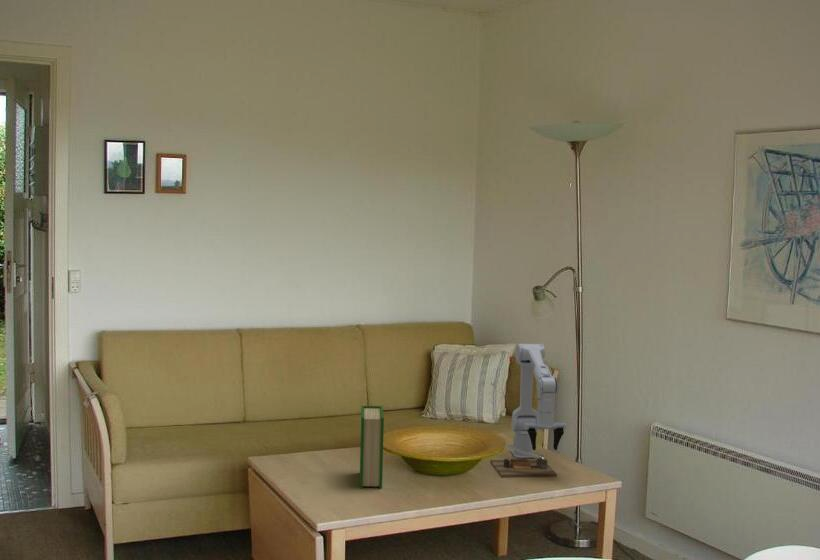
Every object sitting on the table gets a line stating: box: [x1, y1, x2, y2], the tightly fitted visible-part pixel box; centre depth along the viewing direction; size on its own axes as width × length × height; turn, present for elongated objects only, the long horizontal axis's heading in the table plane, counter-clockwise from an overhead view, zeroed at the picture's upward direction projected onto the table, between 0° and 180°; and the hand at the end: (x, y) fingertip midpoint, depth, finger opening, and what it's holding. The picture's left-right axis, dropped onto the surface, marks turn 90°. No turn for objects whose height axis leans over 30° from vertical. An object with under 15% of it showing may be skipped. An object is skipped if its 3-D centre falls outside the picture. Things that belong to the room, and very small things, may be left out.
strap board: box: [489, 454, 557, 478], centre depth 324 cm, size 18×20×4 cm
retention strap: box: [505, 443, 545, 460], centre depth 324 cm, size 4×15×1 cm, turn 97°
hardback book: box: [359, 405, 385, 490], centre depth 306 cm, size 18×7×24 cm, turn 3°
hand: (544, 449), depth 314 cm, fingers open, 7 cm apart
